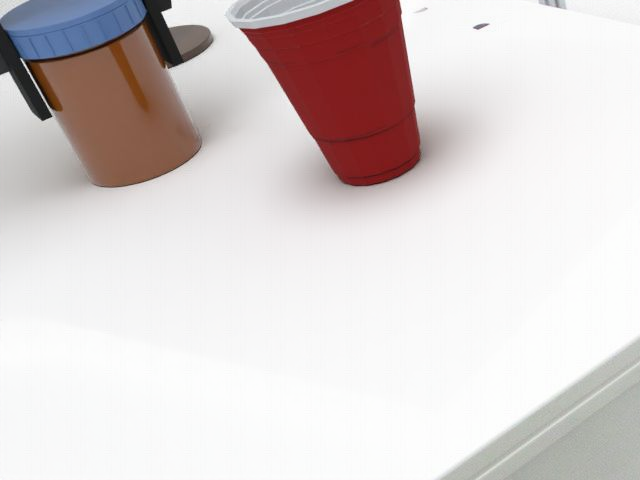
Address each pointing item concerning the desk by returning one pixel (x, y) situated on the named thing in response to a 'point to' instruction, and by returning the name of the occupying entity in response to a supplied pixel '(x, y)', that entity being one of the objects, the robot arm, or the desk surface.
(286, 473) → the desk surface
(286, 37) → the plastic cup
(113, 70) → the jar
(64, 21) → the lid
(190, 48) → the coaster
